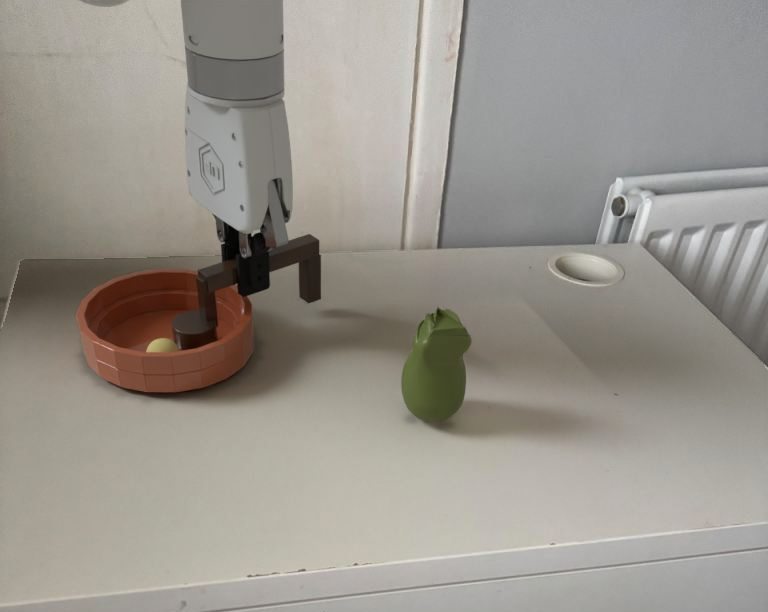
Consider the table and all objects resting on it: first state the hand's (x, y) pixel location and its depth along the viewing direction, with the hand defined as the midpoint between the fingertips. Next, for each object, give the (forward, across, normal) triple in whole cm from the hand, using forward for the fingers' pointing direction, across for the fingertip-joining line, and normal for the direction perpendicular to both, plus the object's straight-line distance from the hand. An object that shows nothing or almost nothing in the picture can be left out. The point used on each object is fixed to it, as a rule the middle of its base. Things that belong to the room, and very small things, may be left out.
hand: (246, 285), depth 78 cm
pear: (+5, +20, +6) cm, 22 cm away
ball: (+3, +2, -10) cm, 11 cm away
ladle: (+4, 0, 0) cm, 4 cm away
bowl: (+5, -2, -8) cm, 9 cm away
